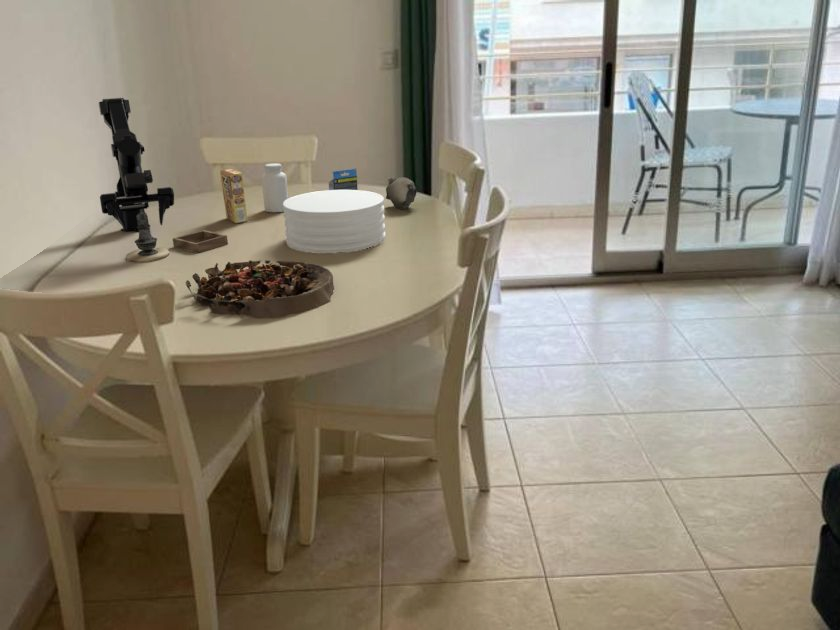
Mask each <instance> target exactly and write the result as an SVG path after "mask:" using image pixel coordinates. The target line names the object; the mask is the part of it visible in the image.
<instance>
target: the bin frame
mask: <svg viewBox="0 0 840 630" xmlns="http://www.w3.org/2000/svg"><path fill="white" fill-rule="evenodd" d="M172 242H173V243H172V245H173V248H176V249H180V250H183V251H184V250H185V251H188V252H191V253H195V254H197V253H202V252H205V251H209V250H213V249H215V248H219V247H223V246H227V245H228V244H229V242H228V235H227V234H222V233H217V232H213V231H209V230H204V229H203V230H199V231H195V232H191V233H188V234H185V235H180V236H176V237H173V238H172Z"/></svg>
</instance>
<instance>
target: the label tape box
mask: <svg viewBox="0 0 840 630" xmlns="http://www.w3.org/2000/svg"><path fill="white" fill-rule="evenodd" d="M331 172H332V179H331V180H330V181H328V190H359V189H358V176H357V168H351V169H349V168H348V169H341V170H333V171H331ZM343 174H345V175H343Z"/></svg>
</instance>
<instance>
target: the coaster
mask: <svg viewBox="0 0 840 630" xmlns="http://www.w3.org/2000/svg"><path fill="white" fill-rule="evenodd" d="M153 249H155V250H157V251H158V253H156V254H154V255H149V256H140V255H138V253H139V252H140V251H142V250H140V249H139V248H138V249H136V250H135V249H134V250H132V251H130V252H128V253H127V254H126V255H125V257H126V260H127V261H128V262H131V263H151V262H154V261H160V260H163V259H165V258H168V256H169V255H170V251H169V249H168V248H164V247H163V248H162V247H154V248H153Z"/></svg>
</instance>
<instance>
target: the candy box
mask: <svg viewBox="0 0 840 630" xmlns="http://www.w3.org/2000/svg"><path fill="white" fill-rule="evenodd" d="M220 180H221V187H222V194H223V201H224V202H223V203H224V210H225V217H226V219H228V220H230V221H232V222H233V223H234V224H238V223H239V224H240V223H245V222H248V213H247V204H246V197H245V188H244V180H243V173H242V172H240V171H237V170H236V169H232V168H229V169H223V170H220Z"/></svg>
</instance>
